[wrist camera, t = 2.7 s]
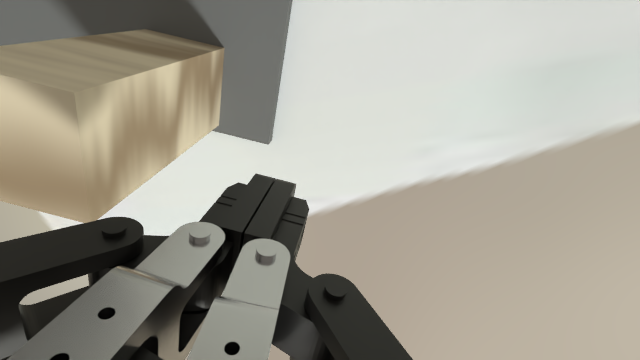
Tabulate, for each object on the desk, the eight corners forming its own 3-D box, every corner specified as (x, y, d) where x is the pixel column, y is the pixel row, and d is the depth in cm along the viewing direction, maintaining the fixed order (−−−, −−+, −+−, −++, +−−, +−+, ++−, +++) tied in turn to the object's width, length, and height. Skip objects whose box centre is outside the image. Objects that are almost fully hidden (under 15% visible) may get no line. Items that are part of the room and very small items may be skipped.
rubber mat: (-69, -107, 21) (-85, -110, 20) (295, -23, 20) (292, -24, 19) (-26, 66, 25) (-37, 68, 25) (271, 140, 25) (268, 144, 24)
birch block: (145, 29, 22) (-79, 55, 11) (224, 47, 21) (74, 92, 11) (148, 107, 24) (-35, 191, 13) (218, 125, 24) (90, 224, 13)
